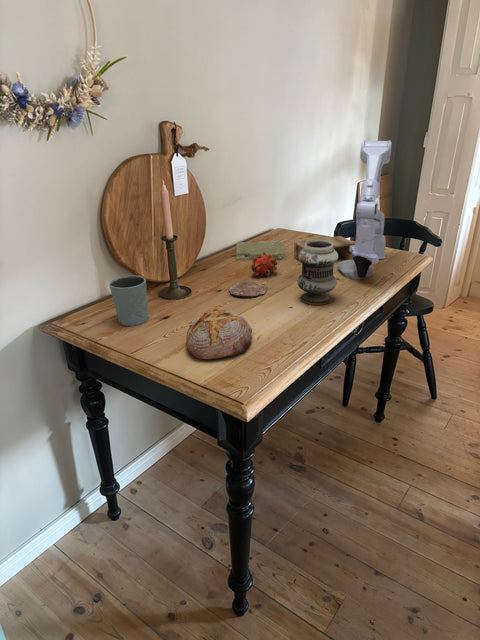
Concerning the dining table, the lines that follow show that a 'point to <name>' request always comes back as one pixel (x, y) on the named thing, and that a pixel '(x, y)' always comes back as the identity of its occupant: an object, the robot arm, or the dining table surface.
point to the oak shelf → (339, 246)
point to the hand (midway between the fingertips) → (361, 277)
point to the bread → (218, 335)
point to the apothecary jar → (317, 271)
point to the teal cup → (130, 299)
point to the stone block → (352, 269)
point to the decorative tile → (259, 250)
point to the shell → (247, 289)
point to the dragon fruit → (264, 264)
